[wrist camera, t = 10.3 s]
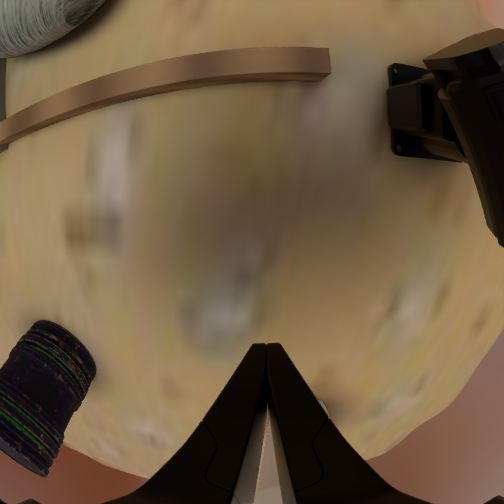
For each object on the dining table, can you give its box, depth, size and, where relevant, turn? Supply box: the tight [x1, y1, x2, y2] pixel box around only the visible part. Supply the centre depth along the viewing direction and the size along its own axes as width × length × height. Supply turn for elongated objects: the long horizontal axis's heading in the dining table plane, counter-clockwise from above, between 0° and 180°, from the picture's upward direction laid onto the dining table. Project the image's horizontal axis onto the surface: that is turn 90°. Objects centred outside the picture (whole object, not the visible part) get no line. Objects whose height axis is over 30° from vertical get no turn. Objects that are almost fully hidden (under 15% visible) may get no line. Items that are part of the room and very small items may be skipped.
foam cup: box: [254, 399, 330, 504], centre depth 23 cm, size 10×9×13 cm
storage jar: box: [0, 320, 96, 478], centre depth 20 cm, size 10×10×15 cm
